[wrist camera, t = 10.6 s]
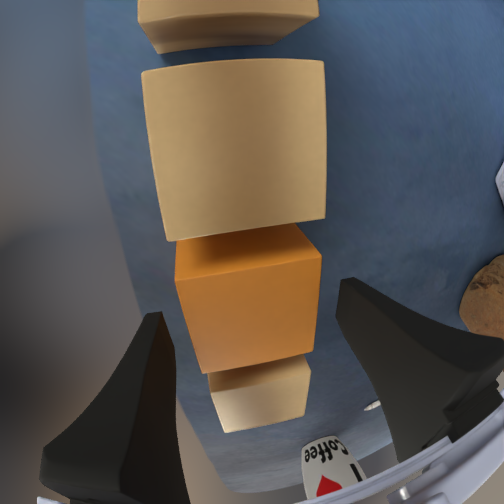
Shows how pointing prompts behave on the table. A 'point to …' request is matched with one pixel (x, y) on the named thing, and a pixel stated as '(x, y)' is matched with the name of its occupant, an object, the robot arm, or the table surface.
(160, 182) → the birch cube
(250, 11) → the birch cube
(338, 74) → the table surface
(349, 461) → the cup
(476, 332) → the brown speckled rounded part
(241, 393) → the birch cube
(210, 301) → the ochre cube
